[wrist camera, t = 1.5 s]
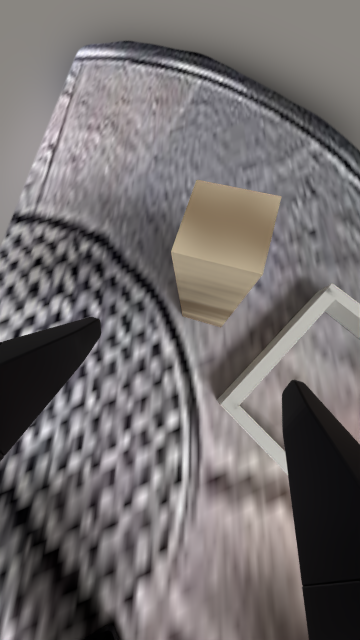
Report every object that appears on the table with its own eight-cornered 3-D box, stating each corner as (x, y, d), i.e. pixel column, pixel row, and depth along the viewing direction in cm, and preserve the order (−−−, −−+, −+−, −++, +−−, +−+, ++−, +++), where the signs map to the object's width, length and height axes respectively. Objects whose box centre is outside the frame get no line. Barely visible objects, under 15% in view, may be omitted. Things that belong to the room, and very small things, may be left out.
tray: (357, 546, 17) (385, 577, 14) (216, 399, 20) (220, 404, 18) (460, 404, 19) (501, 410, 16) (316, 292, 22) (332, 283, 19)
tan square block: (221, 327, 22) (262, 274, 9) (182, 316, 22) (170, 251, 10) (231, 290, 23) (281, 196, 10) (193, 281, 23) (196, 179, 10)
